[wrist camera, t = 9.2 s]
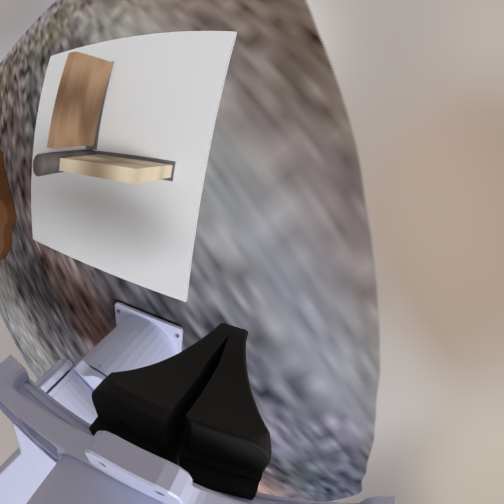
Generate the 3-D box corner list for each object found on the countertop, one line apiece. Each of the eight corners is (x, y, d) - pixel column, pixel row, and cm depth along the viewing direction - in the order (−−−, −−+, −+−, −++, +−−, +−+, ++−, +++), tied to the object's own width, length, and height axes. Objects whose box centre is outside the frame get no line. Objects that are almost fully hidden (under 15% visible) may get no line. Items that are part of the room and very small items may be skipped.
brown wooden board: (93, 145, 21) (53, 148, 16) (86, 144, 21) (46, 147, 16) (113, 62, 18) (76, 51, 13) (106, 63, 18) (68, 52, 13)
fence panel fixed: (83, 166, 22) (32, 175, 16) (85, 148, 21) (33, 153, 15) (170, 182, 21) (120, 193, 15) (173, 159, 20) (123, 164, 14)
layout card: (187, 300, 24) (185, 302, 24) (34, 238, 27) (32, 239, 27) (237, 33, 16) (236, 31, 16) (52, 56, 19) (50, 56, 18)
